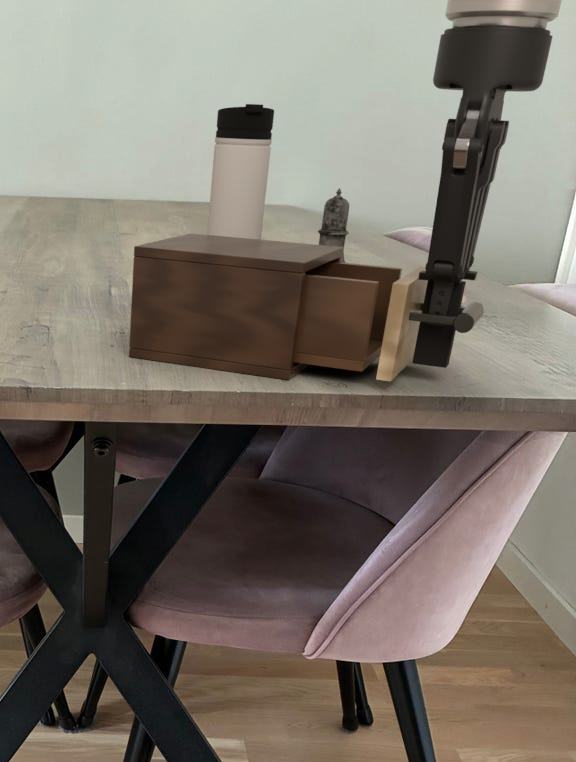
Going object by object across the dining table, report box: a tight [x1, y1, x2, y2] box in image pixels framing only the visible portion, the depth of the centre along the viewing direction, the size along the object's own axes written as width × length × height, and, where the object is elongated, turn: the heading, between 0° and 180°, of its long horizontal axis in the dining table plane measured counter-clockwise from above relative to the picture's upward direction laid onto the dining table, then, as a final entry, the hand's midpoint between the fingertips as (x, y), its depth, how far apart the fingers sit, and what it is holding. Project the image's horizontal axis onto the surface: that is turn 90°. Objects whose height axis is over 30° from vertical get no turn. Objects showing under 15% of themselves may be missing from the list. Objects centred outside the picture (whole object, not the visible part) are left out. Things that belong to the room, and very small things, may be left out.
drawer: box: [294, 261, 485, 383], centre depth 80 cm, size 18×11×7 cm, turn 63°
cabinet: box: [128, 232, 345, 381], centre depth 84 cm, size 15×13×9 cm
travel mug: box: [206, 103, 275, 240], centre depth 109 cm, size 6×7×20 cm
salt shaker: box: [317, 188, 350, 263], centre depth 112 cm, size 6×6×12 cm
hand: (430, 363), depth 79 cm, fingers closed
